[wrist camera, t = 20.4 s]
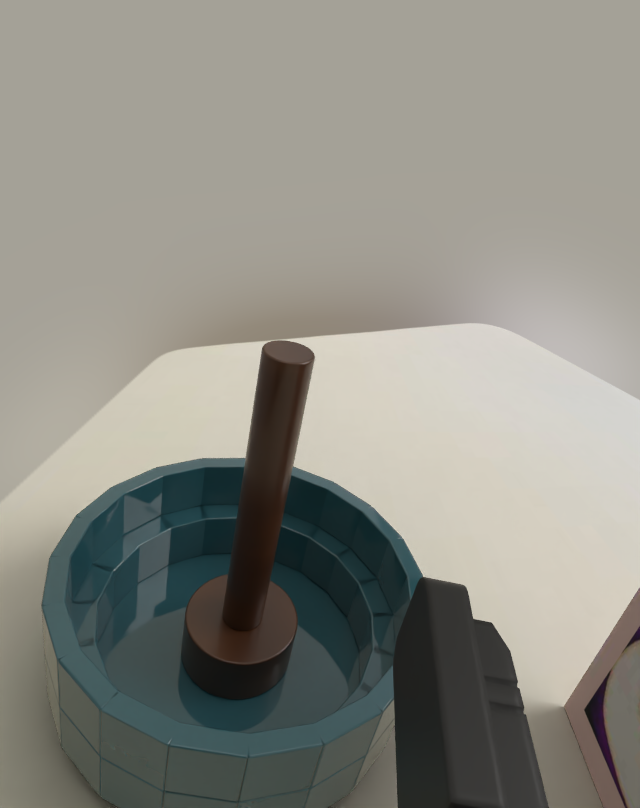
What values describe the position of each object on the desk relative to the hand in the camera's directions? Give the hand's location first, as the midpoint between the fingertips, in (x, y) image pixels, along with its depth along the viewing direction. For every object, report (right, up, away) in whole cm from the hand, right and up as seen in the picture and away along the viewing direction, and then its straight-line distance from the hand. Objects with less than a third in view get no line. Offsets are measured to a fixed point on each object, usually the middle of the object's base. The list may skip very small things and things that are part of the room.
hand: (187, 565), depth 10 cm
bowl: (-2, -9, +17) cm, 20 cm away
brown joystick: (-2, -9, +17) cm, 19 cm away
